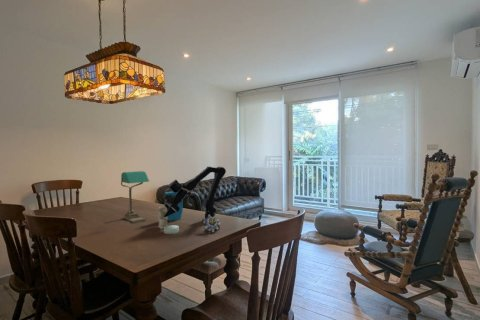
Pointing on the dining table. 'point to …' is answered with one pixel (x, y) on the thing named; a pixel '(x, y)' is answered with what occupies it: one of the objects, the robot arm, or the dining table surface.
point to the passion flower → (211, 223)
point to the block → (178, 214)
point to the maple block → (162, 217)
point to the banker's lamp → (130, 178)
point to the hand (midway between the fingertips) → (162, 215)
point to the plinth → (171, 229)
